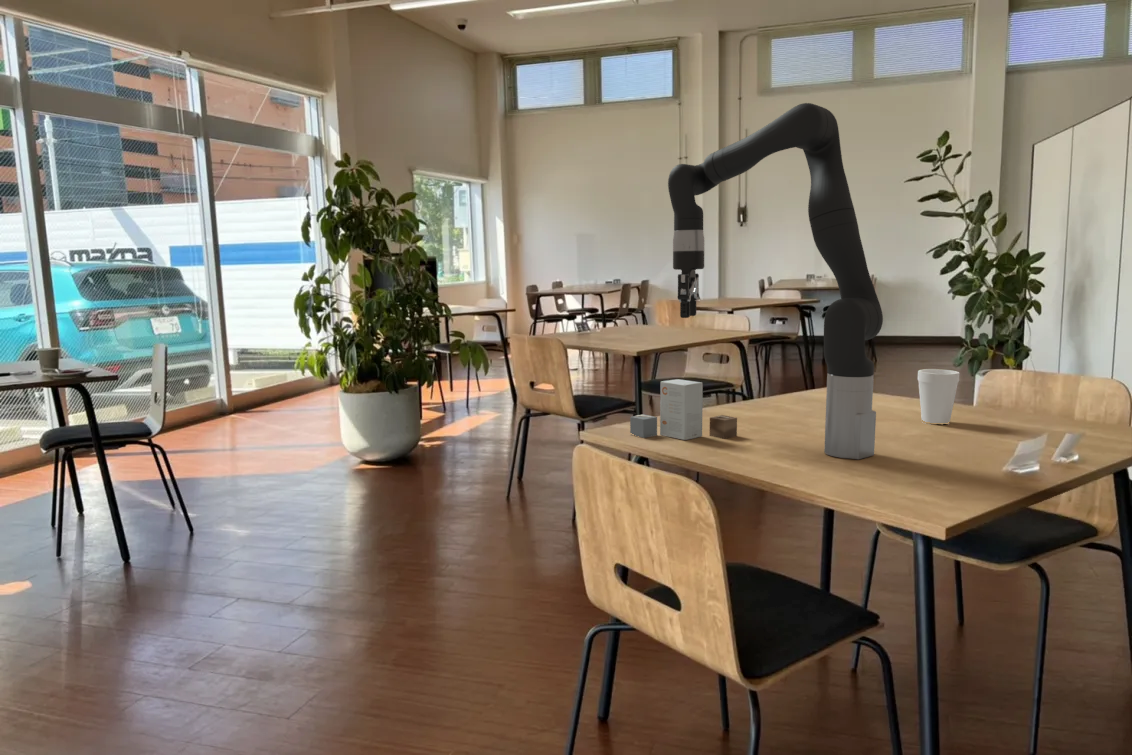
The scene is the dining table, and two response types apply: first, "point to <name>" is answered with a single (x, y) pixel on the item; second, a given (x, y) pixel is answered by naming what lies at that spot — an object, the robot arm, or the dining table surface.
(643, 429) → the slate block seven
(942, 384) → the foam cup
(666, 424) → the small box
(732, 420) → the walnut block one
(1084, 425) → the dining table surface
